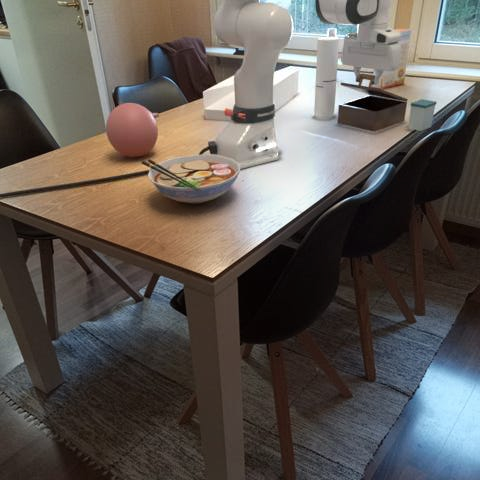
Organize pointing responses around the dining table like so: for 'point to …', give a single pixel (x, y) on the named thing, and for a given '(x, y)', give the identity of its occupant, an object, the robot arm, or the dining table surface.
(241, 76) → the robot arm
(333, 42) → the cylindrical container
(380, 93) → the lid
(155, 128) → the balloon
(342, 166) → the dining table surface
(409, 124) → the white teal-lidded container
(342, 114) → the chest
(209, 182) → the ramen bowl
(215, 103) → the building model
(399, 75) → the cracker box
